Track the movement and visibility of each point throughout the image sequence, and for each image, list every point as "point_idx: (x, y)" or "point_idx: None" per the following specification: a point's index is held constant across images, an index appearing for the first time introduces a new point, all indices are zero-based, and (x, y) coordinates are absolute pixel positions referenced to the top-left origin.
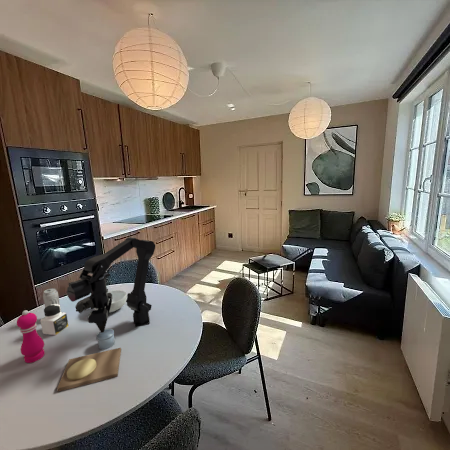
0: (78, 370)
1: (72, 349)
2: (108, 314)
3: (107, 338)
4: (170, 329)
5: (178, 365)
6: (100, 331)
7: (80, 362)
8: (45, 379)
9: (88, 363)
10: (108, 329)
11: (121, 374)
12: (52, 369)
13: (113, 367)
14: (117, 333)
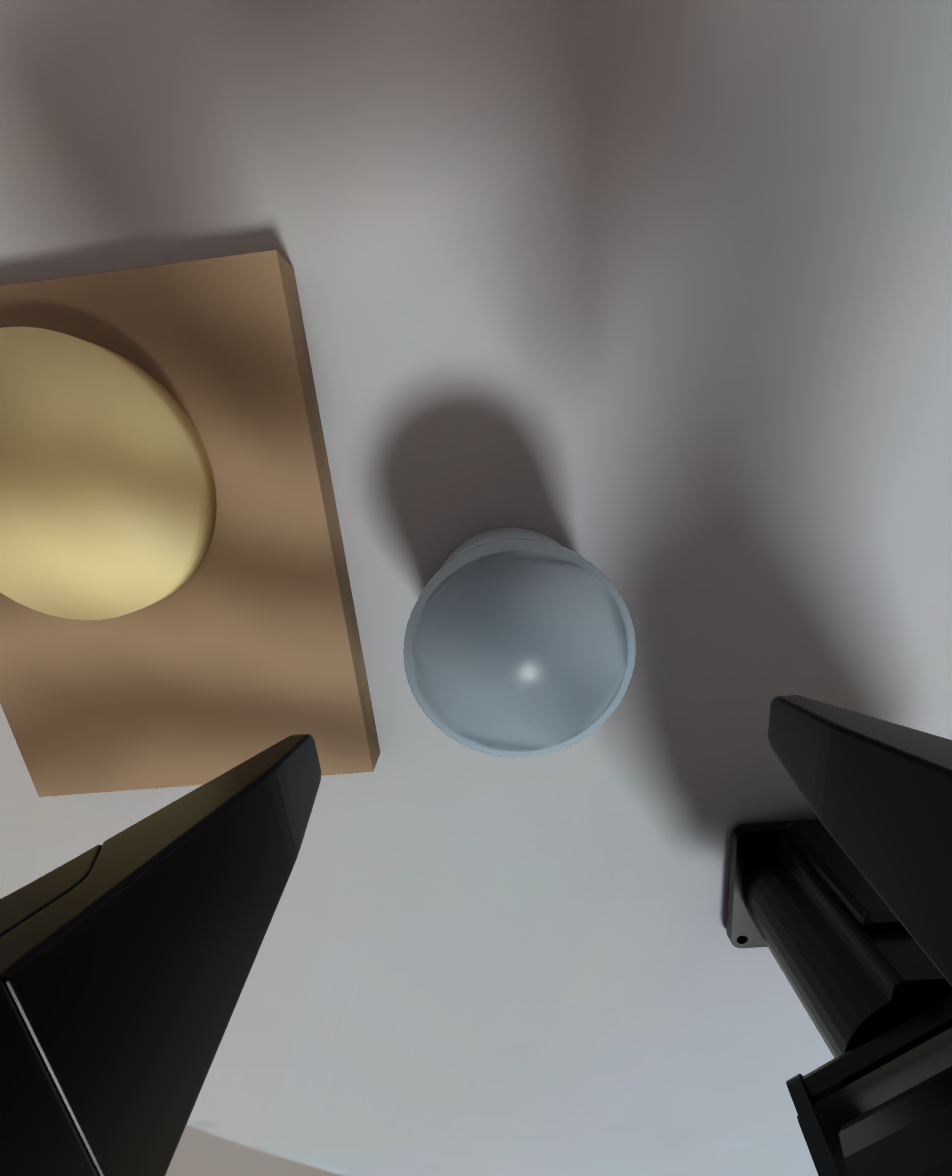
0: (14, 462)
1: (533, 199)
2: (860, 868)
3: (419, 696)
4: (564, 1069)
5: None
6: (266, 750)
7: (139, 438)
8: (41, 72)
9: (116, 538)
10: (620, 678)
11: (86, 798)
12: (195, 80)
13: (108, 757)
14: (680, 672)
